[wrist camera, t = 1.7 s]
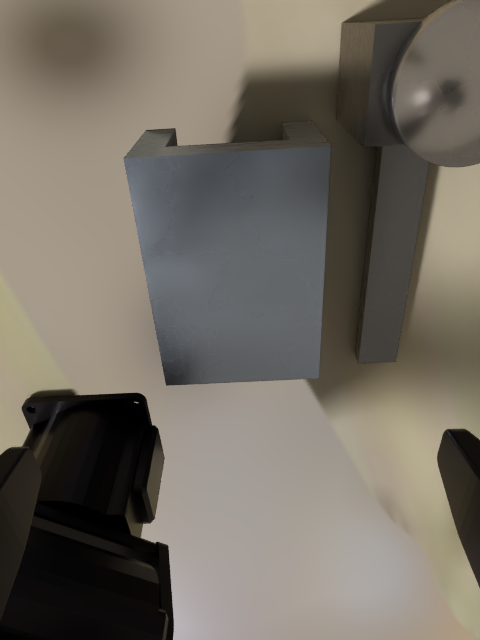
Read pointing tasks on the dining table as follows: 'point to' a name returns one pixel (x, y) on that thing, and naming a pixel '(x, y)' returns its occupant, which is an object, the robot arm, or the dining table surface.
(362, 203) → the dining table surface
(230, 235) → the block
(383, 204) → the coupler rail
